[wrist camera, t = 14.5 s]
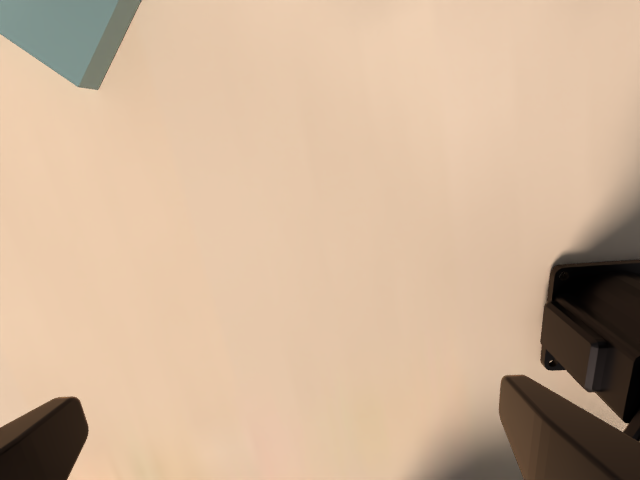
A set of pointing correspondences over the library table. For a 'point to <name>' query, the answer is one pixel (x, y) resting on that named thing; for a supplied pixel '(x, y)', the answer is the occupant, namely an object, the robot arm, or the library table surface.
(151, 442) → the library table surface
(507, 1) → the library table surface
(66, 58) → the lipped steel plate
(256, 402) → the library table surface
